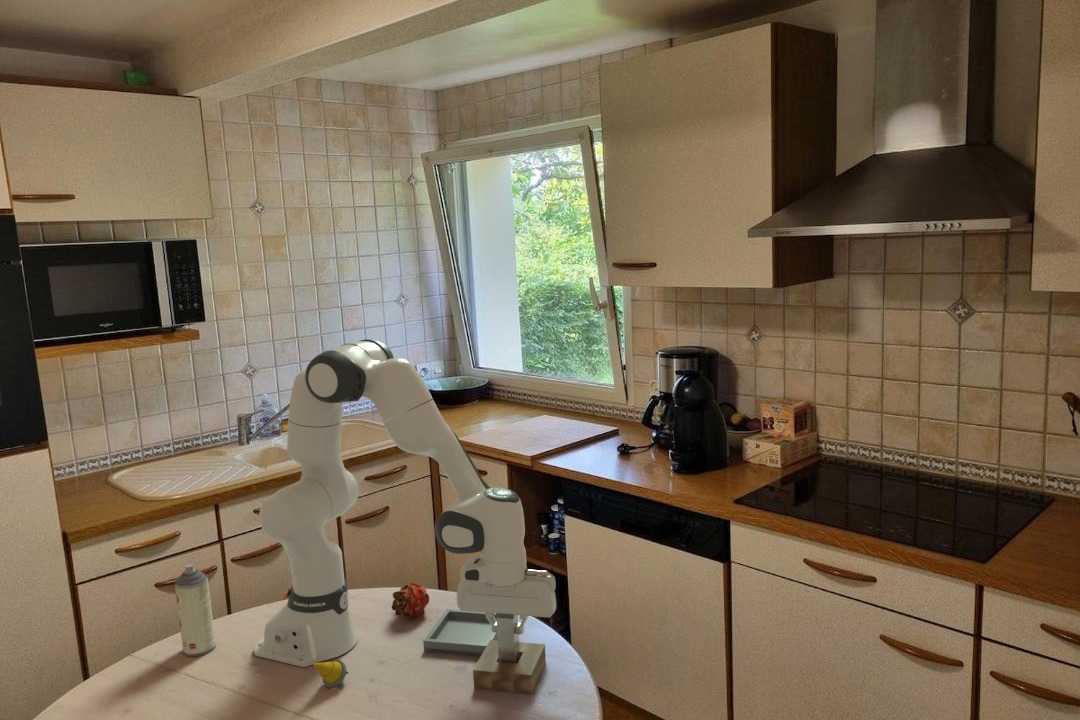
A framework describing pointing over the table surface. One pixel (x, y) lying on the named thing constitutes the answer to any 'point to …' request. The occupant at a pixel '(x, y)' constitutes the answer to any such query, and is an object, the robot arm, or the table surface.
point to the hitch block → (510, 669)
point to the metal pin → (507, 638)
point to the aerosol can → (195, 612)
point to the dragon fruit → (410, 600)
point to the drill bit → (331, 672)
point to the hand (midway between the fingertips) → (507, 632)
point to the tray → (460, 633)
